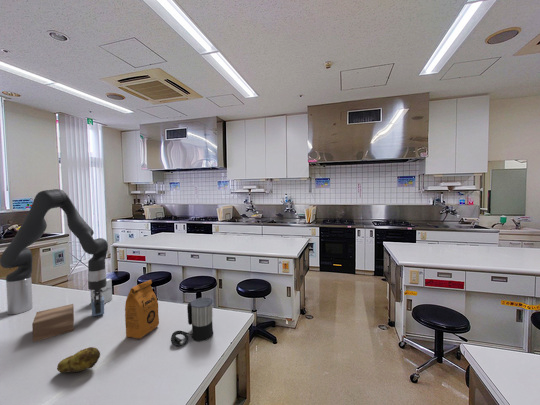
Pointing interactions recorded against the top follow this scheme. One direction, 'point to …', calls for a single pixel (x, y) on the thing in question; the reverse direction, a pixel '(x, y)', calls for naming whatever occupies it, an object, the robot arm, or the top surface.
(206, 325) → the milk frother
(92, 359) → the potato
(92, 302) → the slate block
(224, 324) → the top surface
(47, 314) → the walnut box
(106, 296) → the supplement box
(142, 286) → the coffee package
